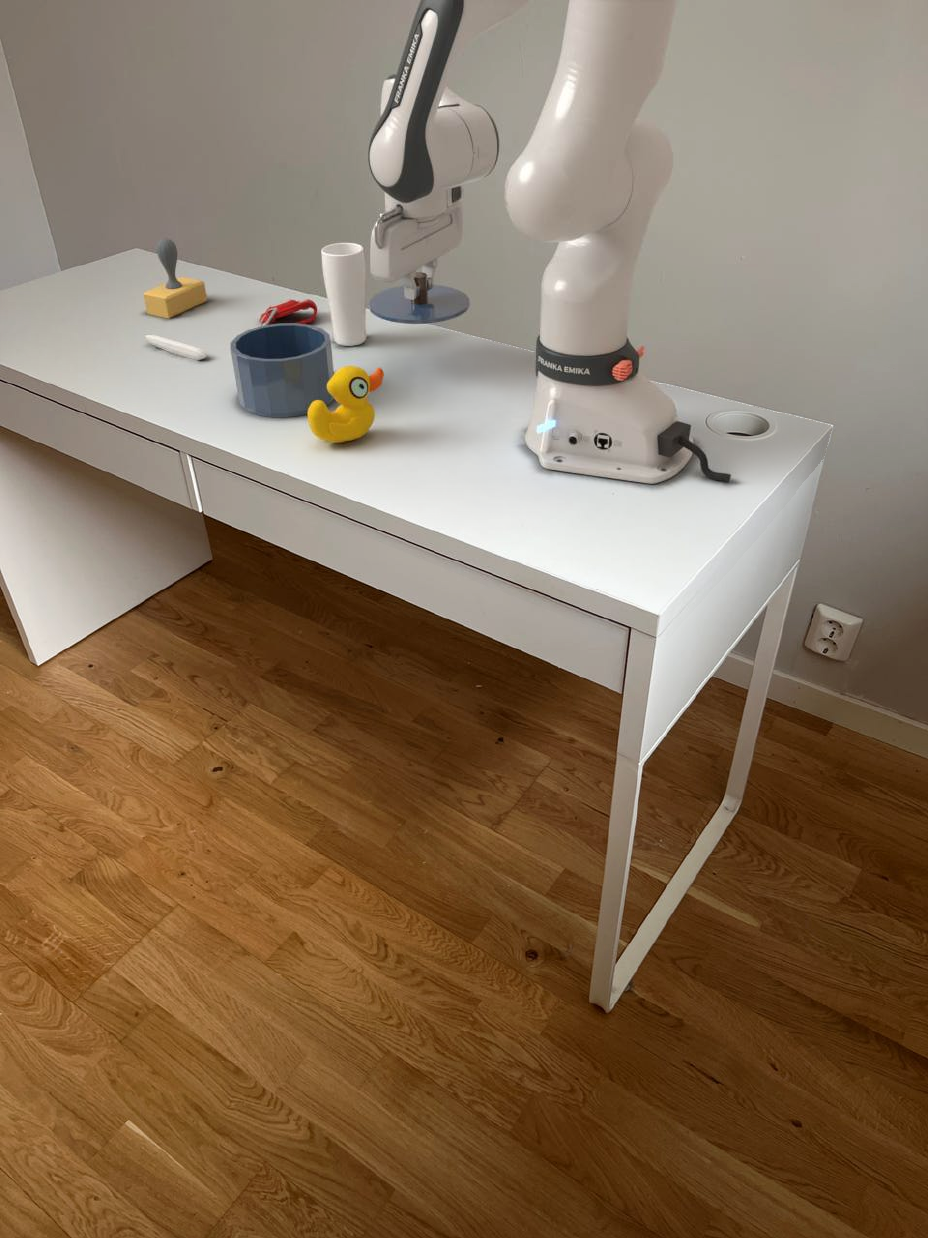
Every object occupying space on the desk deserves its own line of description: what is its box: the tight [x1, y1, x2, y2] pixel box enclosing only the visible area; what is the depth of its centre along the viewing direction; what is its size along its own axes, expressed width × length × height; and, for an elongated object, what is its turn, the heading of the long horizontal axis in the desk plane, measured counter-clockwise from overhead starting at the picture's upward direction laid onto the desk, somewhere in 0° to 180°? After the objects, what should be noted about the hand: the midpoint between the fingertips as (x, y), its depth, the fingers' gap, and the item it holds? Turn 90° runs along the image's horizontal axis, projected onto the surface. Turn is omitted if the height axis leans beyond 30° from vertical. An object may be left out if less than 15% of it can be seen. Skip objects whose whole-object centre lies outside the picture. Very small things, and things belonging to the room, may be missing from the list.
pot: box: [229, 322, 335, 418], centre depth 148 cm, size 14×14×8 cm
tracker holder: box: [257, 298, 318, 327], centre depth 173 cm, size 12×4×10 cm
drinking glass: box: [320, 242, 367, 347], centre depth 163 cm, size 7×7×15 cm
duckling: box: [307, 365, 385, 444], centre depth 136 cm, size 11×5×10 cm, turn 122°
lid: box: [368, 271, 471, 325], centre depth 152 cm, size 15×15×5 cm
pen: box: [144, 334, 207, 361], centre depth 165 cm, size 2×14×2 cm, turn 56°
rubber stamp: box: [143, 237, 208, 320], centre depth 178 cm, size 10×6×12 cm, turn 150°
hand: (419, 293), depth 152 cm, fingers closed on lid, 2 cm apart
